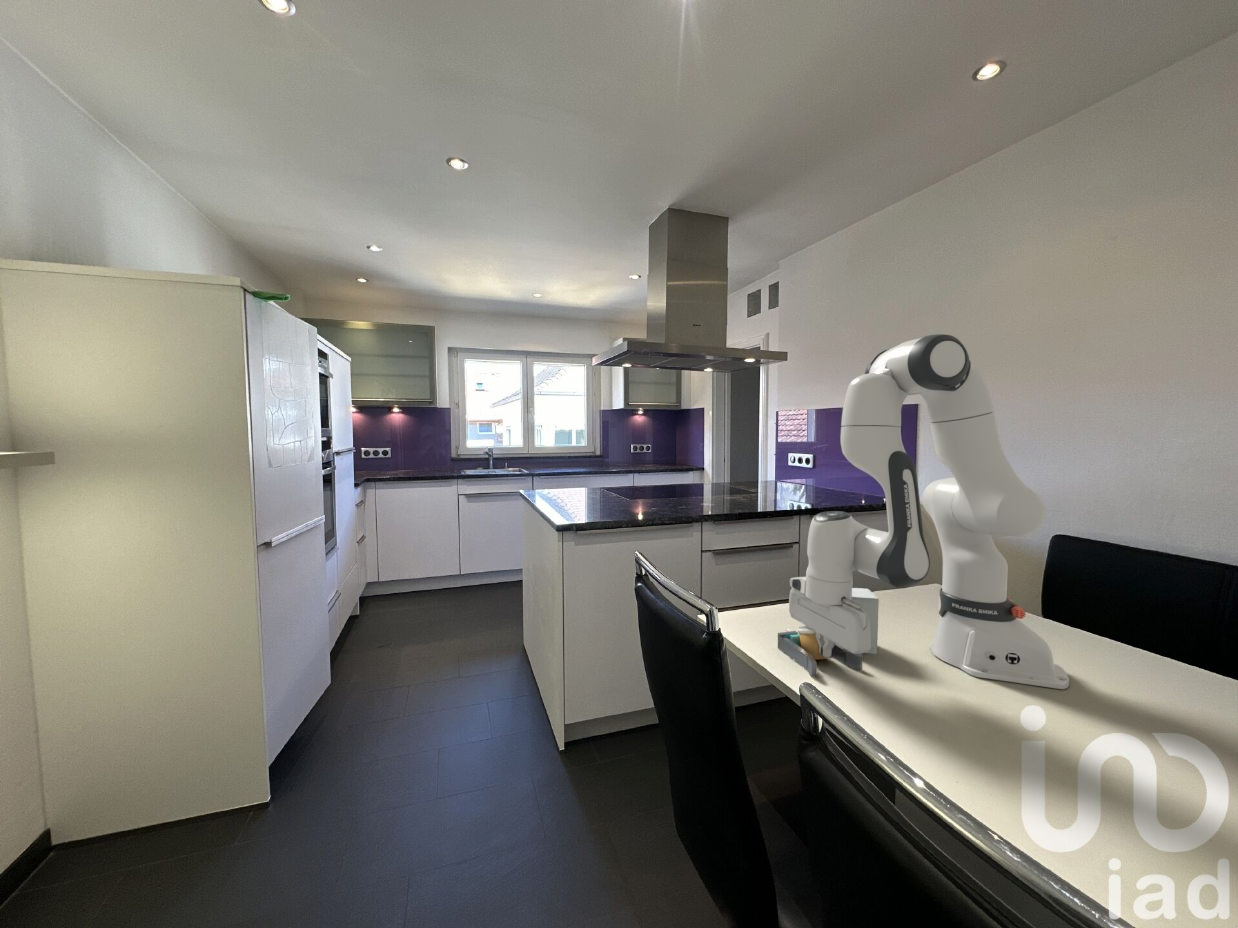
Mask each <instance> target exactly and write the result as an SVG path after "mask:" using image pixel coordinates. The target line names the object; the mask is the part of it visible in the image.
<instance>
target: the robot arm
mask: <svg viewBox="0 0 1238 928" xmlns="http://www.w3.org/2000/svg"><path fill="white" fill-rule="evenodd" d="M864 371H865V372H864V373H863V374H861V375H859V376H856V377H855V378H854V379H852V380H851V382H850V383H849V384H848V386H847V389H846V393H845V397H844V402H843V407H842V412H841V413H842V414H841V423H840V426H841V427H840V447H841V453H842V455H843V456H844V457H845V458H846V460H847V461H848V462H849V463H851V465H852V466H854V467H855V468H857V469H858V470H860V471H862V472H864V473H866V474H868V475H869V476H871V477H872V478H873V479H874V480H875V481H877V482H878V484H879V485H880V486H881V488H882V490H883V492H884V496H885V506H886V517H887V528H888V531H883V530H879V529H876V528H872V527H869V526H867V525H865V524H862V523H860V522H859V521H858V520H857V521H856V519H854V518H853V516H852V514H850V513H849V512H846V511H840V510H839V511H838V510H834V511H833V510H831V511H829V510H828V511H823V512H822V511H821V512H819V513H816V514H815V515H814V516H813V517H812V519H811V521H810V525H809V529H808V534H807V536H808V537H807V545H806V546H807V547H806V554H807V558H808V565H807V568H806V572H805V576H797V577H791V578H790V579H789V587H791V589H790V591H789V599H788V612H789V615H790V617H791V618H792V619H794V620H795V621H798V622H799V623H801V624H803V625H804V626H807V627H809V628H811V629H812V630H814V631H816V639H817V641H818V644H819V653H820V654H821V655H823V656H824V657H829V658H831V657H832V656H831V653H832V648H833V647H834V645H835V644H838V645H840V646H841V647H843V648H845V649H846V650H848V651H850V652H852V653H854V654H860V655H862V654H867V653H866V652H868V651H869V650H870V648H871V633H870V623H869V619H868V613H867V612H866V611H865V609H864V608H863V606H862V605H861V604H859V603H855V602H853V601H852V588H853V582H854V581H853V580H854V579H853V577H854V576H853V572H858V573H861V574H863V575H865V576H868V577H869V576H870V577H871V578H872V577H873V578H875V579H878V580H880V581H881V582H883V583H886V584H888V585H891V586H893V587H895V588H897V589H907V588H910V587H913V586H916V584H917V585H918V584H919V582H921V581H922V580H924V579H925V577H926V576H927V575H928V573H929V571H930V567H931V559H930V553H929V549H928V547H927V543H926V541H925V537H924V528H923V527H924V526H923V519H922V509H921V500H922V505H923V508H924V510H925V511H926V513H927V514H928V516H930V519H932V523H933V524H934V527H935V530H936V532H937V536H938V539H939V544H940V548H941V554H942V556H941V557H942V577H941V578H942V582H941V583H942V585H941V586H942V587H941V588H940V589H939V594H938V600H937V601H938V602H937V603H938V605H937V606H938V607H937V610H938V611H937V612H938V615H939V620H938V624H937V629H936V632H935V636H934V639H933V642H932V644H931V647H930V651H931V653H932V654H933V655H934V656H935V657H937V658H938V659H939V660H941V661H943V662H945V663H947V664H949V665H951V666H954V667H956V668H959V669H960V670H962V671H964V672H965V673H967V674H969V675H971V676H973V677H976V678H982V679H988V680H989V679H990V680H994V681H995V680H996V681H1003V682H1010V683H1018V684H1024V685H1030V686H1036V687H1037V686H1038V687H1045V688H1050V689H1051V688H1052V689H1059V690H1065V689H1067V688H1069V686H1070V679H1069V678H1070V677H1069V675H1068V673H1067V672H1066V670H1064V669H1063V668H1062V666H1061V665H1060V664H1058V663H1057V662H1056V661H1055V660H1054V657H1053V653H1052V650H1051V648H1050V646H1049V644H1048V642H1047V641H1046V640H1045V639H1044V638H1043V637H1042V636H1040V635H1039V634H1038V633H1037V632H1036V631H1034V630H1033V629H1032V628H1031V627H1029V626H1028V625H1026V623H1024V622H1023V621H1021V620H1022V619H1024V618H1026V615H1027V613H1026V611H1024V609H1023V608H1022V607H1021V606H1019V605H1018V604H1017V603H1016V602H1014V601H1013V600H1012V599H1010V598H1008V597H1007V594H1008V593H1007V591H1008V572H1009V571H1008V570H1009V569H1008V568H1009V567H1008V566H1009V565H1008V562H1007V560H1006V558H1005V557H1004V556H1003V554H1002V553H1001V552H1000V551H999V550H998V548H997V546H996V545H995V542H994V540H993V537H996V538H1026V537H1028V536H1029V537H1030V536H1031V535H1034V534H1035V533H1037V531H1038V530H1040V528H1041V527H1042V525H1043V524H1044V521H1045V518H1046V506H1045V504H1044V501H1043V500H1042V498H1041V497H1040V495H1039V494H1037V493H1036V492H1035V491H1033V490H1032V489H1031V488H1030V487H1028V486H1027V484H1025V483H1024V482H1023V480H1021V479H1020V477H1019V476H1018V474H1017V472H1015V470H1014V468H1013V467H1012V465H1011V464H1010V462H1009V460H1008V458H1007V456H1006V454H1005V452H1004V449H1003V447H1002V443H1001V440H1000V436H999V431H998V427H997V421H996V417H995V411H994V406H993V403H992V402H993V401H992V399H991V395H990V392H989V389H988V385H987V383H986V380H985V379H984V377H983V374H982V372H981V370H980V369H979V368H977V366H975V365H972V364H971V360H970V355H969V353H968V350H967V348H966V347H965V345H964V344H963V343H962V342H961V340H959V339H958V338H957V337H955V336H954V335H949V334H942V333H940V334H939V333H938V334H937V333H936V334H930V335H926V336H923V337H920V338H914V339H911V340H907V341H903V342H901V343H900V344H898V345H896V346H893V347H891V348H889V349H885V350H883V351H880V352H879V353H877V354H876V355H875V356H874V357H873V358H872V359H871V360H870V361H869V362H868V364H867V366H866V368H865V370H864ZM914 395H915V396H916V395H921V397H922V398H923V400H924V401H925V402H926V403H925V404H926V405H927V406H926V407H927V414H928V415H927V416H928V420H929V421H928V422H929V426H930V432H931V436H932V437H931V438H932V441H933V447H934V452H935V455H936V457H937V459H938V461H940V462H941V463H942V464H943V465H944V466H946V468H947V469H948V470H949V472H950V473H951V475H952V476H953V477H947V478H946V477H945V478H941V479H936V480H934V481H932V482H931V483H929V484H928V485H927V486H926V488H925V489H924V490H923V494H922V497H921V498H922V499H920V490H919V481H918V474H917V470H916V469H917V468H916V466H915V465H916V464H915V462H914V460H913V458H912V457H911V456H910V455H909V454H907V451H906V450H905V447H904V444H903V441H902V432H901V429H902V428H901V427H902V408H903V405H904V401H905V400H906V398H907V397H908V396H914ZM862 610H863V611H862ZM830 656H831V657H830Z"/></svg>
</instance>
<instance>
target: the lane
mask: <svg viewBox="0 0 1238 928" xmlns="http://www.w3.org/2000/svg"><path fill="white" fill-rule="evenodd" d="M796 634H799V633H798V631H796V630H791V631H790V632H787V631H782V632H778V633H777V649H779V650H780V651H781V650H782V651H781V652H783V653H784V654H785V655H786V654H787V655H786V656H788V657H789V656H790V657H791V658H790V657H789V658H790V659H791V660H793V659H794V660H795V661H794V660H793V661H794V662H796V661H797V662H796V663H797V664H798V663H799V664H800V665H799V664H798V665H799V666H801V667H802V668H803V667H804V668H803V669H805V670H806V671H807V670H808V671H807V672H808V674H809V676H810V678H817V676H818V675H817V671H818V669H817V668H818V662H817V661H816V660H815V659H814V658H813V656H812V655H811V654H810V653H808V652H807V651H805V650H804V649H803V648H801V647H800V646H798V645H797V644H795V643H794V642H793V641H791V640H790V635H796ZM863 656H864V655H863V654H854V653H852V652H850V651H848V650H846V649H845V648H843V647H841V646H840V645H838V644H835V645H834V647H833V648H832V653H831V657H833V659H834V660H836V661H838V662H840V663H842V664H843V665H845V666H847V667H849V668H852V669H853V670H857V671H859V672H860V671H862V670H863Z"/></svg>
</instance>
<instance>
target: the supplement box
mask: <svg viewBox="0 0 1238 928" xmlns="http://www.w3.org/2000/svg"><path fill="white" fill-rule="evenodd" d="M852 601H853V602H855V603H859V604H861V605H862V606H863V608H864V609H865V611H866V612H867V613H868V619H869V623H870V633H871V648H870V650H869V651H868V652H866V653H865V654H871V655H872V654H873V655H877V653H878V639H879V638H878V633H879V605H880V604H879V603H880V600H879V597H878V596H876V595H875V594H874V593H873V592H872V591H871V590H870V589H869V588H865V587H864V588H860V587H852ZM862 611H863V610H862Z"/></svg>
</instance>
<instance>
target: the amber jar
mask: <svg viewBox="0 0 1238 928" xmlns="http://www.w3.org/2000/svg"><path fill="white" fill-rule="evenodd" d="M797 632H798V634H799V636H800V642H801V647H802V648H803V649H804V650H805V651H807V652H808V653H810V654H811V655H812V656H813V658H814V659H815V661H816V660H825V659H828V658H831V657H832V656H830V657H824V656H823V655H821V654H820V653H819V644H818V641H817V639H816V631H814V630H812V629H811V628H809V627H807V626H806V625H804V626H799V627H797Z"/></svg>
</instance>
